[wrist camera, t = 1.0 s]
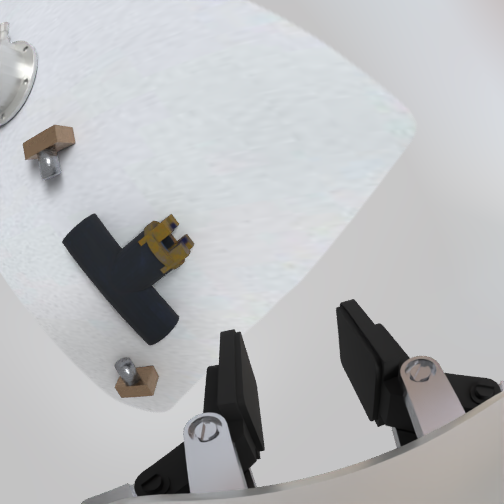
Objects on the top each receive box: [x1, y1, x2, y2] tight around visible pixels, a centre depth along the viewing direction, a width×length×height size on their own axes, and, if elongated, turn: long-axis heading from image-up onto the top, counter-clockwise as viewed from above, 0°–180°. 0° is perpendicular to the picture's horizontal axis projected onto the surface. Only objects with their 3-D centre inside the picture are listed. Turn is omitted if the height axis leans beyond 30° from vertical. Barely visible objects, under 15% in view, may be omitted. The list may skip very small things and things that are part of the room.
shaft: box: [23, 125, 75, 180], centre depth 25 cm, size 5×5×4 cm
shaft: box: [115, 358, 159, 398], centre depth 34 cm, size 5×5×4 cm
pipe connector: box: [62, 214, 194, 345], centre depth 29 cm, size 12×5×15 cm
